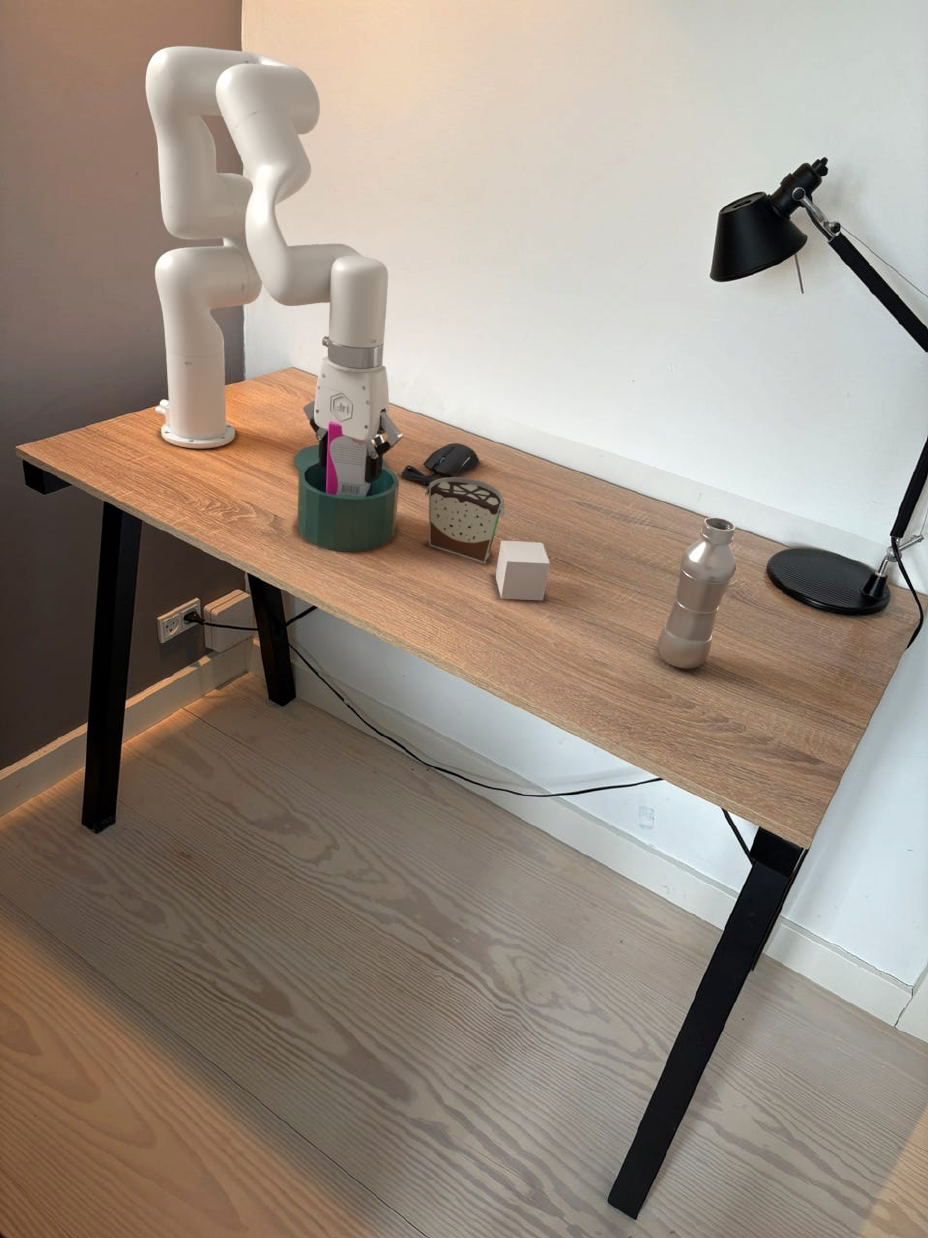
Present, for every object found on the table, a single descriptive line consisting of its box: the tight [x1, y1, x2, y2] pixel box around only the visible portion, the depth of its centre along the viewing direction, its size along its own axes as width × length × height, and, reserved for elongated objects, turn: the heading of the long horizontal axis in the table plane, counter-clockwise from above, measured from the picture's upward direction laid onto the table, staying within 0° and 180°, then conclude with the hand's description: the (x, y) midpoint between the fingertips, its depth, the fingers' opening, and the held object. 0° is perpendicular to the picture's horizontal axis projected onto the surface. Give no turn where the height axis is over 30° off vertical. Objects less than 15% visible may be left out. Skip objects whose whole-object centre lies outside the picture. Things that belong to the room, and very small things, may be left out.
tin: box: [297, 460, 400, 552], centre depth 141 cm, size 15×15×8 cm
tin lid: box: [293, 443, 387, 472], centre depth 160 cm, size 16×16×6 cm
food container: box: [424, 476, 506, 565], centre depth 140 cm, size 12×6×10 cm, turn 65°
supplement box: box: [326, 422, 371, 497], centre depth 137 cm, size 6×6×12 cm
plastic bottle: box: [657, 516, 737, 670], centre depth 117 cm, size 6×7×20 cm
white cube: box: [495, 540, 551, 601], centre depth 132 cm, size 6×6×6 cm
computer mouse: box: [401, 442, 480, 487], centre depth 163 cm, size 12×17×4 cm
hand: (349, 471), depth 138 cm, fingers closed on supplement box, 7 cm apart
